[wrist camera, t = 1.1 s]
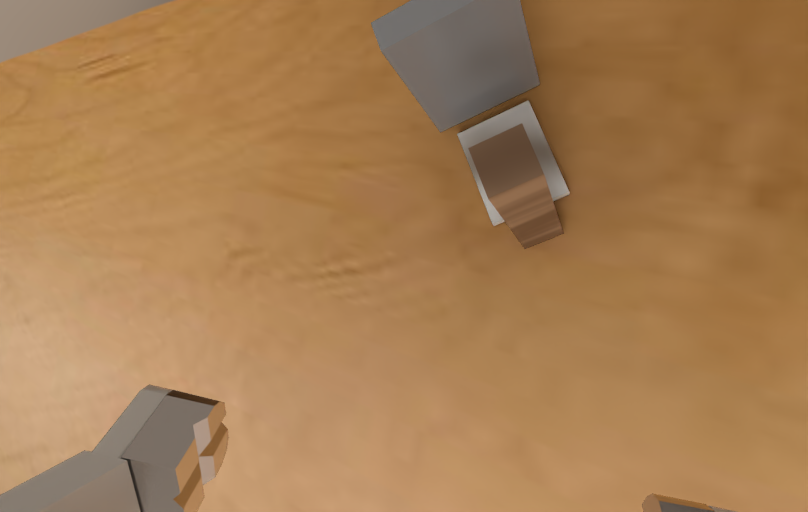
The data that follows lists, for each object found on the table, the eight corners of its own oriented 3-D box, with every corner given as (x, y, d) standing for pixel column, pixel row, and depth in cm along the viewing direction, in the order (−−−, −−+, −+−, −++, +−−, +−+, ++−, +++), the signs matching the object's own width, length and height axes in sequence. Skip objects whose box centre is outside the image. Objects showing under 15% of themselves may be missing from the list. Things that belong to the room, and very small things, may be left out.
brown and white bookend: (583, 225, 37) (573, 161, 25) (506, 256, 38) (461, 210, 26) (529, 103, 40) (496, -7, 28) (459, 137, 41) (399, 46, 29)
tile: (540, 84, 40) (514, -22, 29) (440, 132, 42) (381, 51, 31) (529, 60, 40) (500, -52, 29) (431, 108, 42) (370, 20, 31)
